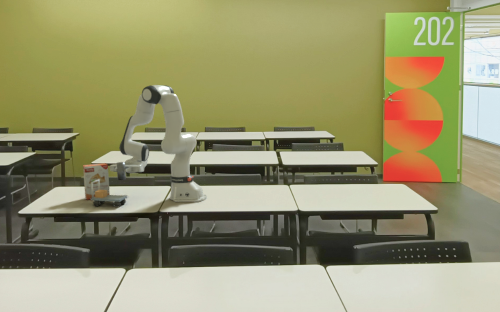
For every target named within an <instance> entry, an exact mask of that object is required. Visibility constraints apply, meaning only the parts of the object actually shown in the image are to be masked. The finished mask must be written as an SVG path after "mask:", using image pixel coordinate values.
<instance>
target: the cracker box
mask: <svg viewBox="0 0 500 312" xmlns="http://www.w3.org/2000/svg"><path fill="white" fill-rule="evenodd" d="M82 166H83V168H82V169H83V184H84V195H85V196H84V198H85V200H87V201H88V200H91V198H92V191H91V182H93V181H95V180H98V179H99V180H100V190H107V195H111V194H110V181H109V178H110V177H109V165H108V163H105V162H104V163H92V164H83V165H82ZM97 190H98V181H97V182H95V183H93V193H94V197H95V191H97Z"/></svg>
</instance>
